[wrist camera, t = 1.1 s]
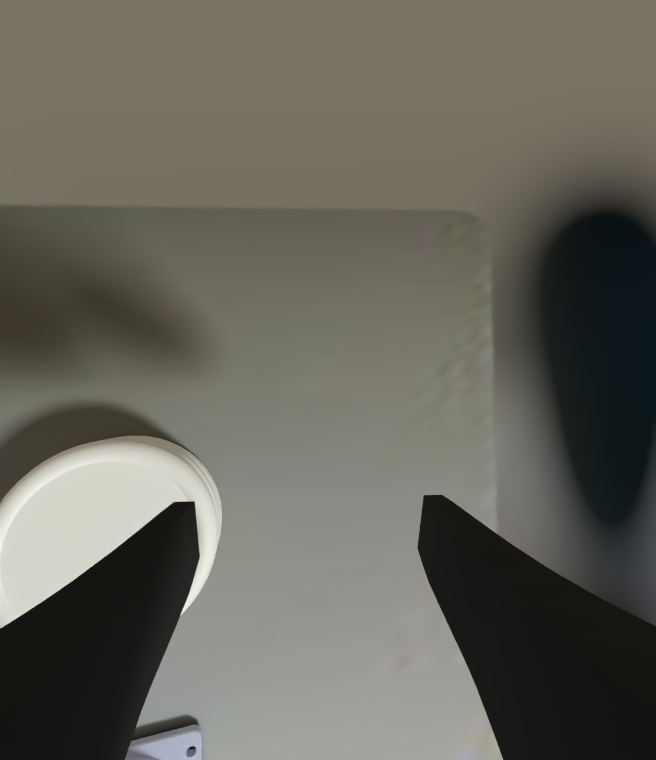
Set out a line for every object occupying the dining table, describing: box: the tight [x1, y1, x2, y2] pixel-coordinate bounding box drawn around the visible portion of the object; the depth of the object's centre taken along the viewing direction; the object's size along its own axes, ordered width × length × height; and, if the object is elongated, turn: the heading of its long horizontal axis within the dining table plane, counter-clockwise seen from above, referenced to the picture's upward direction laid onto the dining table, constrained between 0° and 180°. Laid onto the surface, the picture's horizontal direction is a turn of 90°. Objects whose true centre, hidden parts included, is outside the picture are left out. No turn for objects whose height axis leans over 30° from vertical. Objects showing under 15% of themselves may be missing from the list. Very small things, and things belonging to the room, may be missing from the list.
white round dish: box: [0, 436, 222, 628], centre depth 16 cm, size 10×10×4 cm
